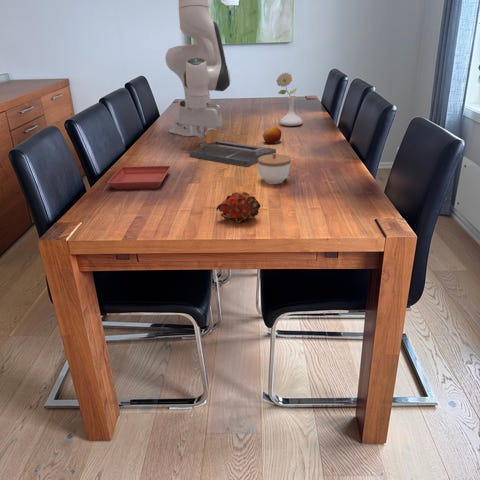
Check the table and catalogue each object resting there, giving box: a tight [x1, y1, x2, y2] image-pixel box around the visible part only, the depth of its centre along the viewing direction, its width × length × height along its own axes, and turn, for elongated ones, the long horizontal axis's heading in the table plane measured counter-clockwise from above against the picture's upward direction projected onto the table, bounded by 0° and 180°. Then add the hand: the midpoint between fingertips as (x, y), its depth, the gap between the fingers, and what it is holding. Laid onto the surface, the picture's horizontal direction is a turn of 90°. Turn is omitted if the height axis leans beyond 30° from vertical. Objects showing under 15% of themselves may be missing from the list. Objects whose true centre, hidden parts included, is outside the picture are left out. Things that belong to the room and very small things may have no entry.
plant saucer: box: [107, 165, 172, 190], centre depth 160 cm, size 18×18×3 cm
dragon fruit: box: [216, 191, 261, 224], centre depth 127 cm, size 8×8×12 cm
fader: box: [205, 128, 219, 144], centre depth 190 cm, size 2×5×7 cm, turn 145°
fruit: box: [262, 126, 282, 145], centre depth 202 cm, size 8×8×8 cm
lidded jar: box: [257, 152, 292, 185], centre depth 155 cm, size 11×11×9 cm
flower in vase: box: [276, 72, 303, 127], centre depth 229 cm, size 13×11×25 cm
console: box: [188, 140, 277, 168], centre depth 186 cm, size 28×20×4 cm
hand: (201, 137), depth 193 cm, fingers closed
